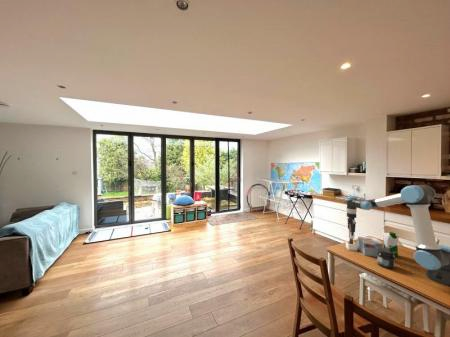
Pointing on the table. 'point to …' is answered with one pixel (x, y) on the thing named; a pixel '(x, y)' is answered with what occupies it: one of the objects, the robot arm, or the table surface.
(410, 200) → the robot arm
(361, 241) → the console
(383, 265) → the supplement container
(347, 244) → the holder
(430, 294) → the table surface
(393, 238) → the milk carton
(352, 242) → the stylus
